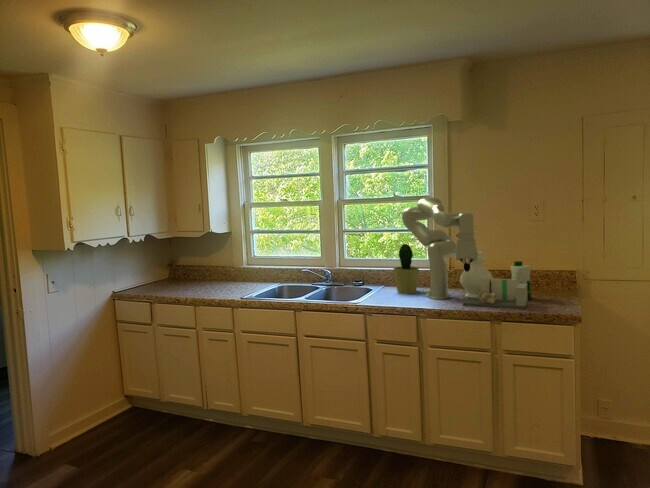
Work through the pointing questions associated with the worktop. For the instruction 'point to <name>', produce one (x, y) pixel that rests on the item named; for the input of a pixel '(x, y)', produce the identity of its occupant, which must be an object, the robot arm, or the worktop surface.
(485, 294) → the gauge slider
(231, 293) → the worktop surface
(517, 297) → the gauge frame
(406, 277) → the potted cactus
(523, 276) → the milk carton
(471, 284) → the decorative vase
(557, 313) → the worktop surface
